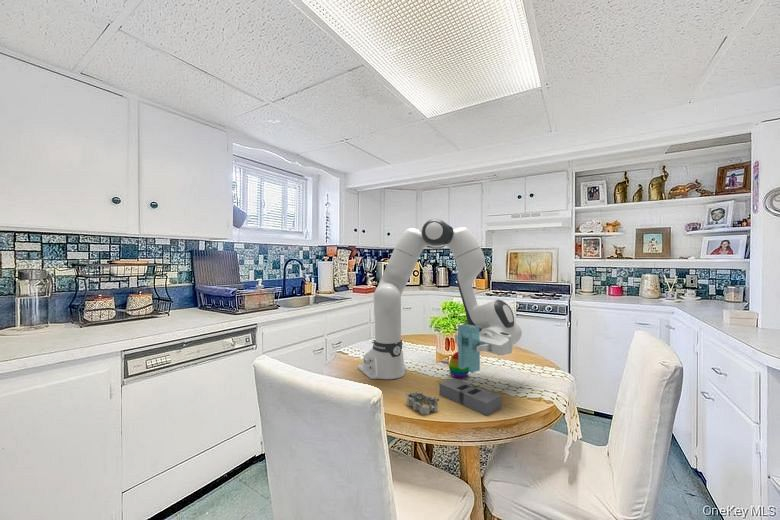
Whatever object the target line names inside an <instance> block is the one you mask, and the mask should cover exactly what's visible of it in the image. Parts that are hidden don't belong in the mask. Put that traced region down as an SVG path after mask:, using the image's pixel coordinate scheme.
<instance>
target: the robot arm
mask: <svg viewBox="0 0 780 520" xmlns="http://www.w3.org/2000/svg"><path fill="white" fill-rule="evenodd" d="M444 247H447V248H448V249H449V250H450V251H451V253H452V255H453V259H454V260H455V262H456V266H457V273H456V283H457V287H458V290H459V291H458V292H459V295H460V297H461V300H462V304H463V307H464V310H465V311H464V313H465V316H466V317H465V319H466V322H467V323H466V324H469V325H474V326H479V335H480V345H476V346H475V347H474V348H475V349H474V350H475V351H477V352H480V353H481V352H487V353H490V354H493V355H497V356H505V355H510V354H512V353H513V346H514V345H515V344H517V343H519V341H520V340H521V338H522V335H523V333H522V332H523V331H522V328H521V327H520V325H519V324H518V323H517V322H515V317H514V313H513V310H512V308H511V306H510V305H508V303H507V302H505V301H503V300H501V299H496V300H495V299H494V300H493V301H490V302H487V303H485V304H484V303H483V304H481V305H479V304H478V301H477V297H476V294H475V291H474V287H473V283H474V281H475V279H476V278H477V276H479V274H480V273H481V272H482V271H483V269H484V267H485V264H486V259H485V254H484V251H483V249H482V248H481V245H479V242H478V240H477V238H476V237H475V236H474V234H473V232H472V231H471V230H470V229H469V228H467V227H465V226H461V227H456V228H453V226H451V225H449V224H448V223H447V222H445V221H444V220H442V219H439V218H432V219H429V220H427V221H426V222H425V223H424V224H423V226H422V229H417V228H415V227H409V228H406V229H405V230H404V231H403V233H401V236H400V237H399V239H398V240H397V243H396V245H395V247H394V248H393V251H392V253H391V256H390V258H389V260H388V261H387V264H386V267H385V269H384V271H383V274H382V275H381V278H380V281H379V282H378V285H377V287H376V288H375V290H374V293H373V313H374V339H372V341H371V344H372V348H370V350H369V351H367V352H366V353H365V354H363V360H362V361H363V363H361V364H358V366H357V369H358V370H360V372H361V373H363V374H364V375H366V376H367V377H368V378H369V379H371V380H377V379H379V380H394V379H400V378H402V377H403V376H405V375H406V369H407V366H406V365H405V359H404V351H403V350H402V349H403V339H402V306H401V305H402V304H401V303H402V294H403V291H404V290H405V288H406V286H407V284H408V281H409V280H410V278H411V276H412V274H413V272H414V269H415V267H416V265H417V262H418V261H419V258H420V257H421V254H422V252H423V250H425V248H428V249H429V248H431V249H443V248H444ZM454 342H455V343H454V344H456V347H458V332H455V334H454Z"/></svg>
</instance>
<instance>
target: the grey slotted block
mask: <svg viewBox="0 0 780 520" xmlns="http://www.w3.org/2000/svg"><path fill="white" fill-rule="evenodd" d="M438 387H439V396H442V397H444V398H447V399H449V400H451V401H453V402H456V403H458V404H459V405H462V406H464V407H467V408H469V409H471V410H473V411H476V412H477V411H478V412H477V413H479V412H480V414H482V415H484V414H485V415H484V416H486V415H487V416H488V414H489V415H490V413H491V414H493V413H494V412H496V411H498V410H500V409H502V396H501V395H499V394H497V393H494V392H492V391H489V390H486V389H484V388H481V387H479V386H477V385H473V384H471V383H468V382H465V381H463V380H461V379H459V378H456V377H453V378H450V379H448V380H445V381H442V382H439V385H438Z"/></svg>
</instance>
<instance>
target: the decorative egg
mask: <svg viewBox="0 0 780 520" xmlns="http://www.w3.org/2000/svg"><path fill="white" fill-rule="evenodd" d="M448 365H449V367H448V368H449V369H448V370H449V372H450V374H451V375H452V377H453V378H455V379H464V377H465V378H466V377H467V376H468V374H469V373H470V372H469V367H467V368H464V369H459V368H458V351H456V352H454V353H453V354H452V356H451V358H450V360H449V364H448Z"/></svg>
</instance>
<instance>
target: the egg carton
mask: <svg viewBox="0 0 780 520" xmlns="http://www.w3.org/2000/svg"><path fill="white" fill-rule="evenodd" d="M405 395H406V397H407V399H406V400H407V402H406V405H407V406H409V407H412V408H413V410H415V411H419V414H420V413H421V414H420V415H426V414H428V415H430V412H433V413H436V412H438V402H440V398H438V397H436V396H429V395H428V394H426V393H425V394H424V393H422V392H421V391H418V392H417V391H415V392H412V393H411V392H409V393H405ZM423 403H424V404H427V405H428V406H426V405H423ZM429 411H430V412H429Z"/></svg>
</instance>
